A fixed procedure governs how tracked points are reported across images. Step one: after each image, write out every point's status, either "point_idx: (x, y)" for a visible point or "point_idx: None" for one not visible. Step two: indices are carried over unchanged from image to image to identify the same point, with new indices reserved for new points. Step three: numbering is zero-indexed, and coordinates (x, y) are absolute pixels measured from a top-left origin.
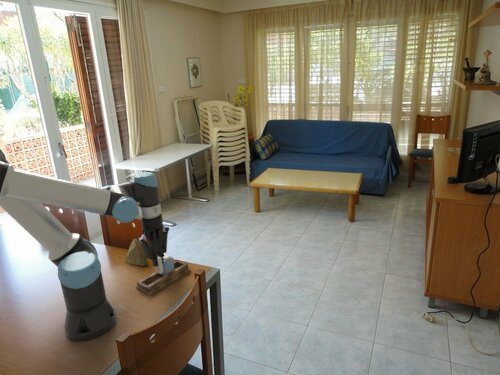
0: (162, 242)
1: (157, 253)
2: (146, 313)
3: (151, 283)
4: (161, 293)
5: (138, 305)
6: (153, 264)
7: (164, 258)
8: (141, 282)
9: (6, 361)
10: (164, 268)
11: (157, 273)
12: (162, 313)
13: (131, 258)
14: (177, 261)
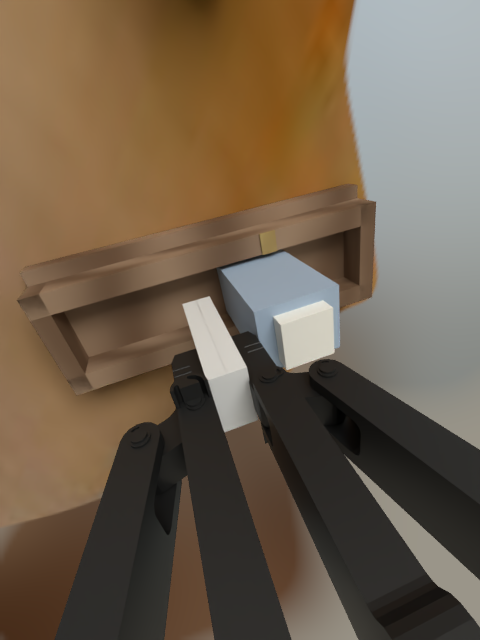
0: (402, 481)
1: (259, 399)
2: (32, 480)
3: (114, 365)
4: (146, 387)
5: (4, 421)
6: (174, 373)
7: (284, 360)
8: (56, 312)
9: None
10: (242, 328)
11: (196, 271)
12: (97, 496)
13: None
14: (361, 226)
